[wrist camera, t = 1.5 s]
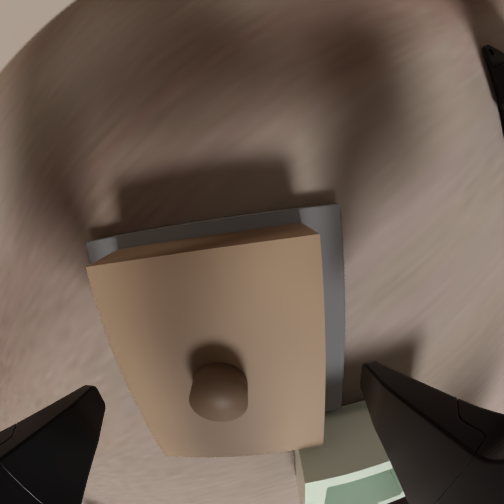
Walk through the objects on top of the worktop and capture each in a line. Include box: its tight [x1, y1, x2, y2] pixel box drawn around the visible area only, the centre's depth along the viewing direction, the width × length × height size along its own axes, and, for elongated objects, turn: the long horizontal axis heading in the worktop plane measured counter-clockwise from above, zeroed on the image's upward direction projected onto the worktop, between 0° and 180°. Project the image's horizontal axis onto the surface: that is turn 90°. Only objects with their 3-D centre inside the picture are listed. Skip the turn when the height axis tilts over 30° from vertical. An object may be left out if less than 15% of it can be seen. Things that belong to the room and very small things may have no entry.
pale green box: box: [294, 400, 405, 504], centre depth 11 cm, size 7×7×4 cm
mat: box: [85, 203, 345, 412], centre depth 11 cm, size 10×10×1 cm
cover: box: [86, 223, 326, 457], centre depth 9 cm, size 7×9×4 cm
